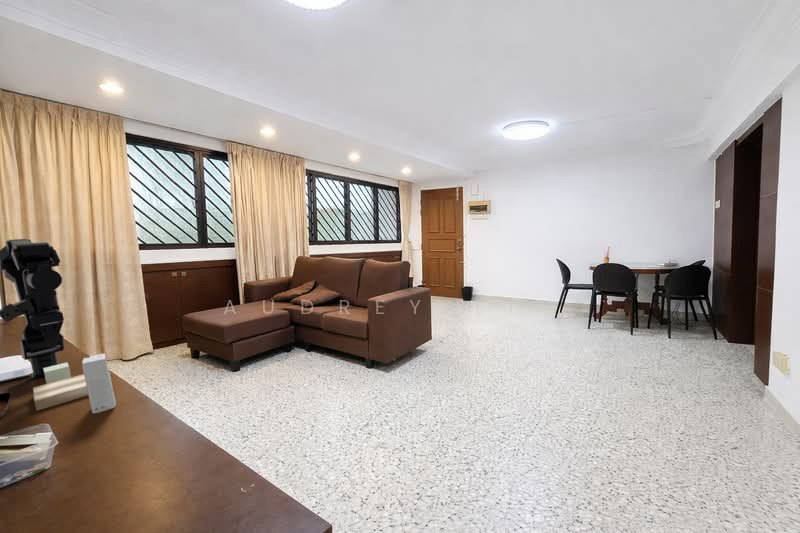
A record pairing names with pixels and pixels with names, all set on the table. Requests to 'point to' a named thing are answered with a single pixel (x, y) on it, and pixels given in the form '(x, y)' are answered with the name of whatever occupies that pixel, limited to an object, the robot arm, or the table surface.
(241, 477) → the table surface
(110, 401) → the skincare box
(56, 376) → the sage cube
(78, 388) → the maple plinth
